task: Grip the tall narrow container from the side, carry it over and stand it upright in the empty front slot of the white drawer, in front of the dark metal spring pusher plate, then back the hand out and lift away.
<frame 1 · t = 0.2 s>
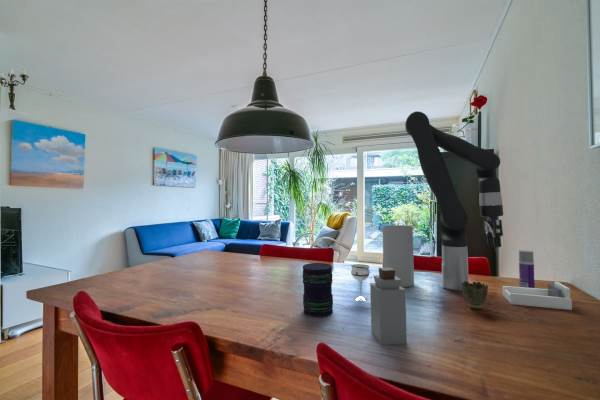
hand: (494, 245, 110), 18 cm above the table, tool pointing down, fingers open, 8 cm apart
storage jar: (318, 312, 92), on the table
container: (527, 289, 112), on the table
cup: (475, 308, 93), on the table
grey rectangular pillar: (398, 284, 122), on the table
perfume bottle: (388, 338, 73), on the table
wineglass: (360, 299, 104), on the table
pusher: (554, 294, 95), point 3 cm above the table, slide at 0.0 cm
white drawer: (534, 301, 97), on the table
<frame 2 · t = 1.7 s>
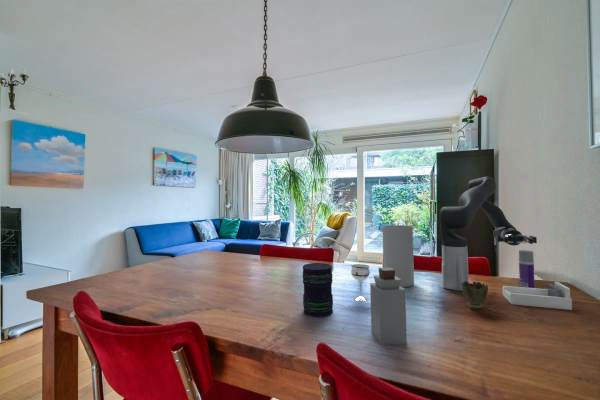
hand: (519, 241, 122), 18 cm above the table, tool horizontal, fingers open, 8 cm apart
nothing on the table moved.
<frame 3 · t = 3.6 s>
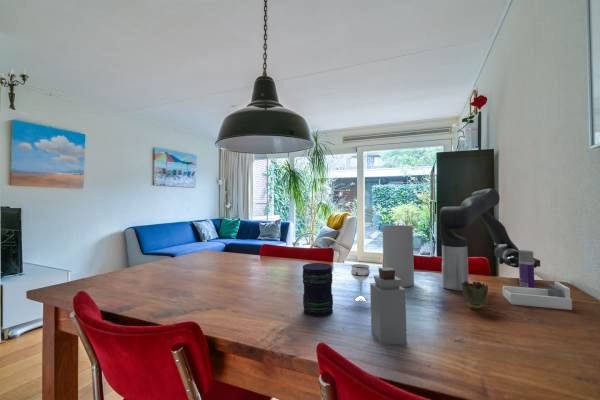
hand: (522, 264, 117), 8 cm above the table, tool horizontal, fingers open, 8 cm apart
nothing on the table moved.
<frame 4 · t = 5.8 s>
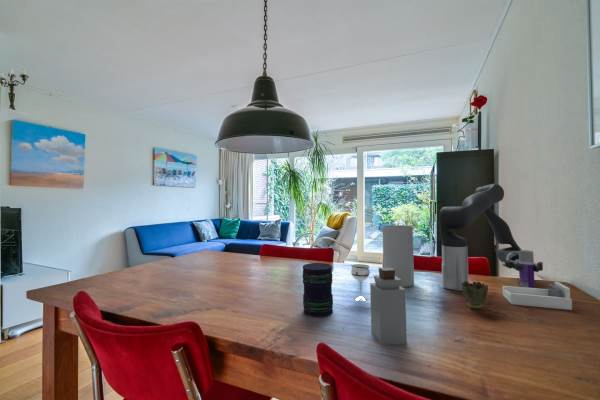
hand: (528, 268, 109), 9 cm above the table, tool horizontal, fingers closed on container, 4 cm apart
container: (527, 289, 112), on the table, touching gripper
everything else where it was.
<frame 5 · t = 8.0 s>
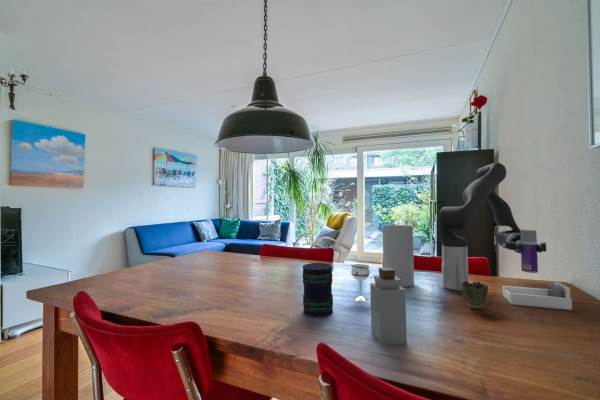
hand: (531, 249, 100), 18 cm above the table, tool horizontal, fingers closed on container, 4 cm apart
container: (529, 271, 103), point 9 cm above the table, touching gripper
everything else where it was.
when the fingers open (10 cm above the table, at t = 10.3 s): container drops 1 cm, resting on white drawer.
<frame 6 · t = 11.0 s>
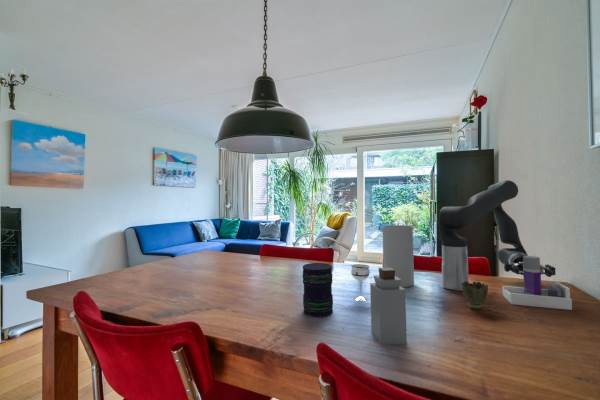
hand: (533, 272, 96), 11 cm above the table, tool horizontal, fingers open, 8 cm apart
container: (532, 300, 97), resting on white drawer
everything else where it was.
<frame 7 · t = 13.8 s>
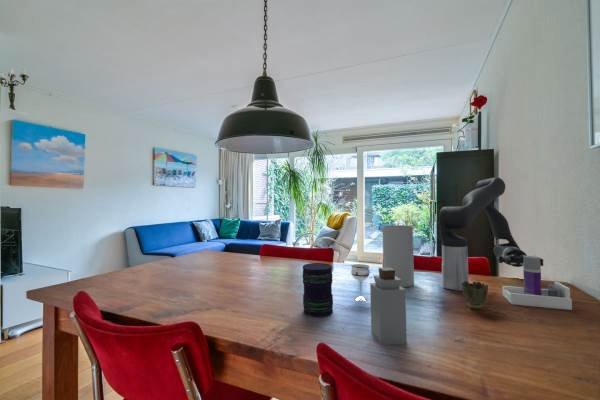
hand: (523, 263, 107), 11 cm above the table, tool horizontal, fingers open, 8 cm apart
nothing on the table moved.
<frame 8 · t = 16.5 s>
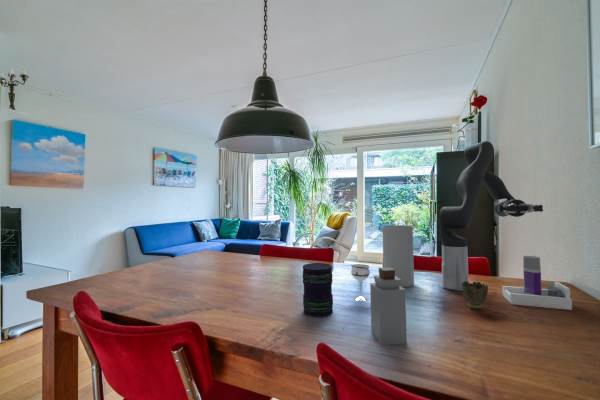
hand: (523, 208, 110), 32 cm above the table, tool horizontal, fingers open, 8 cm apart
nothing on the table moved.
at the end: container 0.3 cm off-centre on the white drawer, point 0.3 cm above the white drawer's base; container tilted 0°; the gripper is holding nothing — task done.
